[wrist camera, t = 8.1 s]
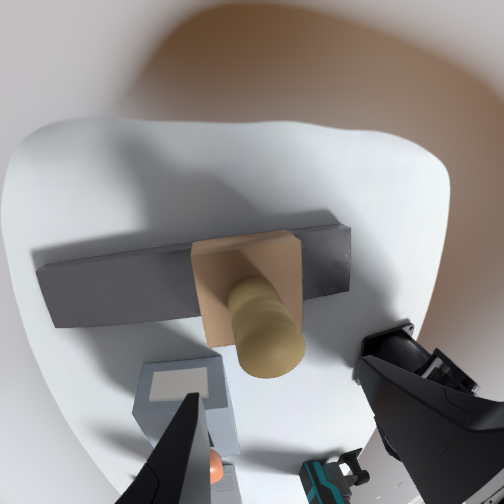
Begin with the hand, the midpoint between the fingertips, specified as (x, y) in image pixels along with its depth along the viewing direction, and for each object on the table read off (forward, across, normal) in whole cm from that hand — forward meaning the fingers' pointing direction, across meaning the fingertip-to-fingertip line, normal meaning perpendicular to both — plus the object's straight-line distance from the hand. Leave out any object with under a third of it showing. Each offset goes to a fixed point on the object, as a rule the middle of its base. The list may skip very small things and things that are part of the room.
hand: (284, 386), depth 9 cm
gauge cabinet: (+12, +6, +11) cm, 17 cm away
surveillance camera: (+12, -10, +34) cm, 38 cm away
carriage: (+10, 0, 0) cm, 10 cm away
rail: (+12, +4, 0) cm, 13 cm away
